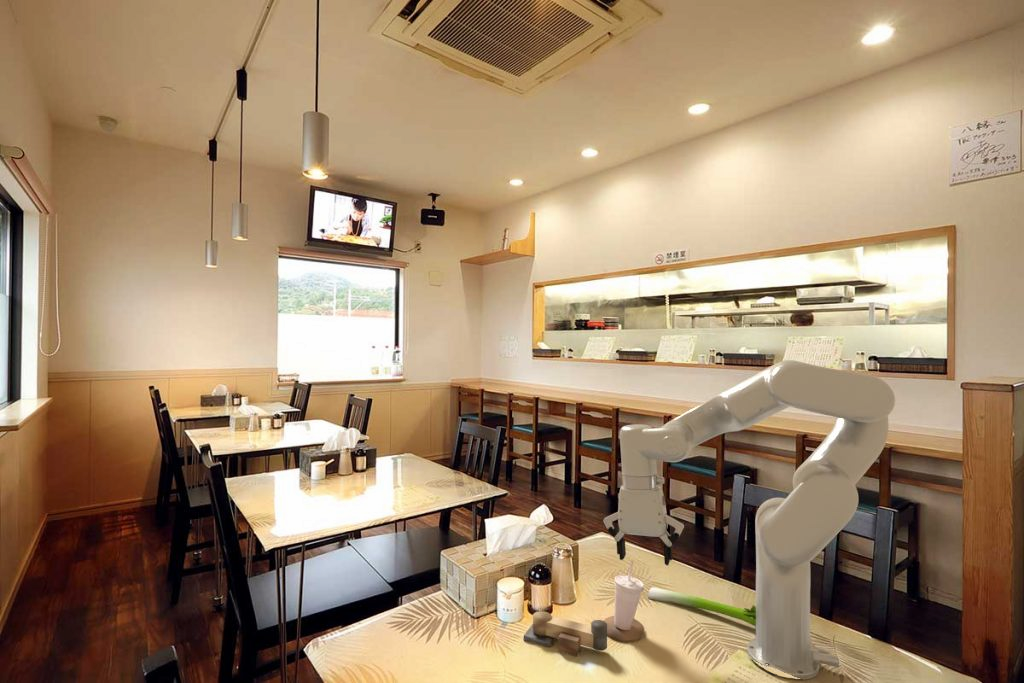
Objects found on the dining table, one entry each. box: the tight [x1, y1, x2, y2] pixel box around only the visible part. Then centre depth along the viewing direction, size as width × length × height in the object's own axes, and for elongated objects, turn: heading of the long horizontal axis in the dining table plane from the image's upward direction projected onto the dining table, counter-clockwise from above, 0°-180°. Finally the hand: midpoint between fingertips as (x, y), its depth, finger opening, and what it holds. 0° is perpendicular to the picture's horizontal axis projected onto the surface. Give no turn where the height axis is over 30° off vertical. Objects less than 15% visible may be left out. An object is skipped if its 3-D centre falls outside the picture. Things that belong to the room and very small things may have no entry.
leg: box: [532, 610, 608, 652], centre depth 106 cm, size 16×4×4 cm, turn 64°
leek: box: [647, 586, 756, 627], centre depth 118 cm, size 6×7×30 cm
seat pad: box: [603, 615, 645, 643], centre depth 112 cm, size 9×9×1 cm
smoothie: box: [613, 560, 645, 630], centre depth 112 cm, size 6×6×14 cm
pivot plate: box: [523, 623, 557, 648], centre depth 109 cm, size 6×6×1 cm
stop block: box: [557, 632, 581, 658], centre depth 104 cm, size 4×2×3 cm, turn 65°
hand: (644, 560), depth 112 cm, fingers open, 9 cm apart
